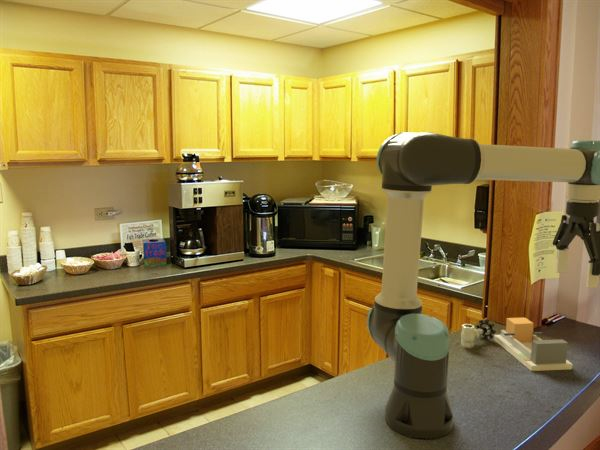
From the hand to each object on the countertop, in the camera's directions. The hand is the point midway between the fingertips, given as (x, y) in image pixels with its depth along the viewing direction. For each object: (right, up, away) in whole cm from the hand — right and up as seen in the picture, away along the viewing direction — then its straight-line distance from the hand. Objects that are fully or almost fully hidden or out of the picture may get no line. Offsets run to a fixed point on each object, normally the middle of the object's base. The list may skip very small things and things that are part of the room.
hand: (575, 279), depth 134 cm
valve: (-19, -23, +24) cm, 38 cm away
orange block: (-5, -21, +22) cm, 31 cm away
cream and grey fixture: (-5, -24, +16) cm, 29 cm away
